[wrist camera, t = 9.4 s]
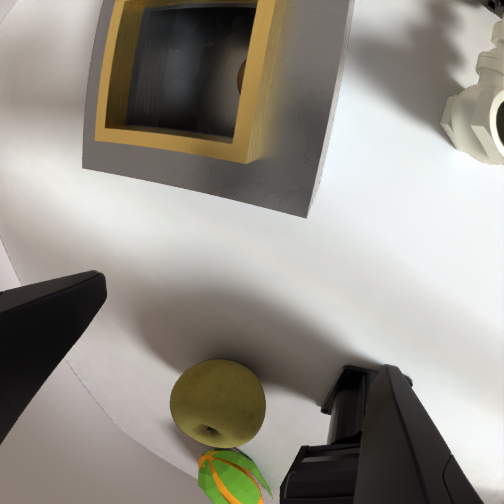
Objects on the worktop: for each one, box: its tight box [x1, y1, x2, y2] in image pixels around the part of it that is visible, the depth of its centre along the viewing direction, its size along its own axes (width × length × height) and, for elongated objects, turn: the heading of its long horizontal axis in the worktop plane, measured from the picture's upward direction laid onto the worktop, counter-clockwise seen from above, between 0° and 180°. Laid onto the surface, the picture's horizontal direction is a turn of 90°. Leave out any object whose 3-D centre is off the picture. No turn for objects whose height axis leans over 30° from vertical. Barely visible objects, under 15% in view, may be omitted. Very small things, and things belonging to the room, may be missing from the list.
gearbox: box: [82, 0, 354, 218], centre depth 12 cm, size 14×12×8 cm
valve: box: [440, 0, 504, 165], centre depth 9 cm, size 7×7×12 cm
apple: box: [170, 359, 266, 448], centre depth 23 cm, size 8×8×7 cm
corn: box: [198, 449, 273, 504], centre depth 32 cm, size 7×8×20 cm
